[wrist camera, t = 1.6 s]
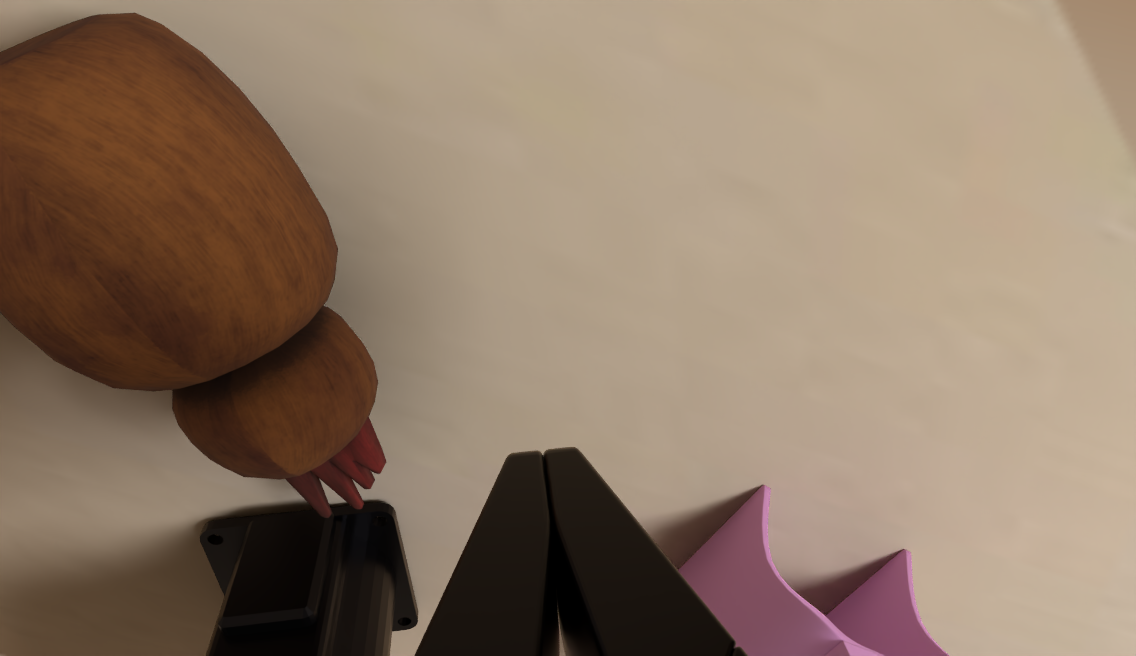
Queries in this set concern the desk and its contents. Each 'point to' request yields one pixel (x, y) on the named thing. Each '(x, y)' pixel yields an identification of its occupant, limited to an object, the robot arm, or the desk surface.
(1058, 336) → the desk surface
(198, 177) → the wooden figurine
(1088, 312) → the desk surface
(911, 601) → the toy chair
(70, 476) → the desk surface
